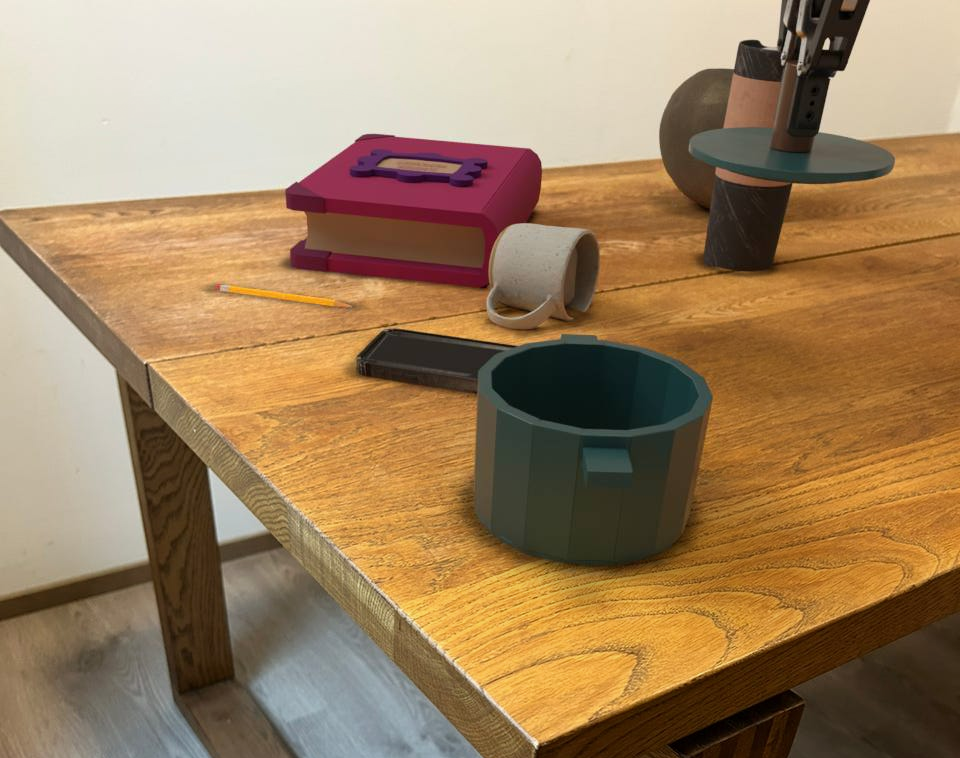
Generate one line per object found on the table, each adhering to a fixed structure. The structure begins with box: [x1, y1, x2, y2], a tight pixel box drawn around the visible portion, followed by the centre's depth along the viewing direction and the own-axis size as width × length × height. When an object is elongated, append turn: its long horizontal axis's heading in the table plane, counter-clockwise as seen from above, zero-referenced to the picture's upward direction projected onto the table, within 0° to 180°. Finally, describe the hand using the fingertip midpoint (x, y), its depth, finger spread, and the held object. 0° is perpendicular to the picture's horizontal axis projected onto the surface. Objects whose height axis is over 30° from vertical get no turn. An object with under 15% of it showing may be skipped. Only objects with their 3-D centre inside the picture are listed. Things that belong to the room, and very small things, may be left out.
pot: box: [472, 333, 714, 566], centre depth 61 cm, size 14×19×8 cm
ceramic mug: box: [485, 222, 601, 330], centre depth 88 cm, size 11×8×8 cm
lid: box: [689, 60, 896, 185], centre depth 72 cm, size 15×15×7 cm
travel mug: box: [702, 39, 794, 272], centre depth 98 cm, size 8×8×20 cm
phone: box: [355, 327, 518, 394], centre depth 80 cm, size 8×1×15 cm
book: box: [284, 133, 543, 289], centre depth 105 cm, size 21×28×8 cm
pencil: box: [214, 283, 353, 308], centre depth 91 cm, size 1×13×1 cm, turn 75°
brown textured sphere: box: [658, 67, 734, 210], centre depth 117 cm, size 14×14×15 cm
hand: (794, 129), depth 73 cm, fingers closed on lid, 3 cm apart
